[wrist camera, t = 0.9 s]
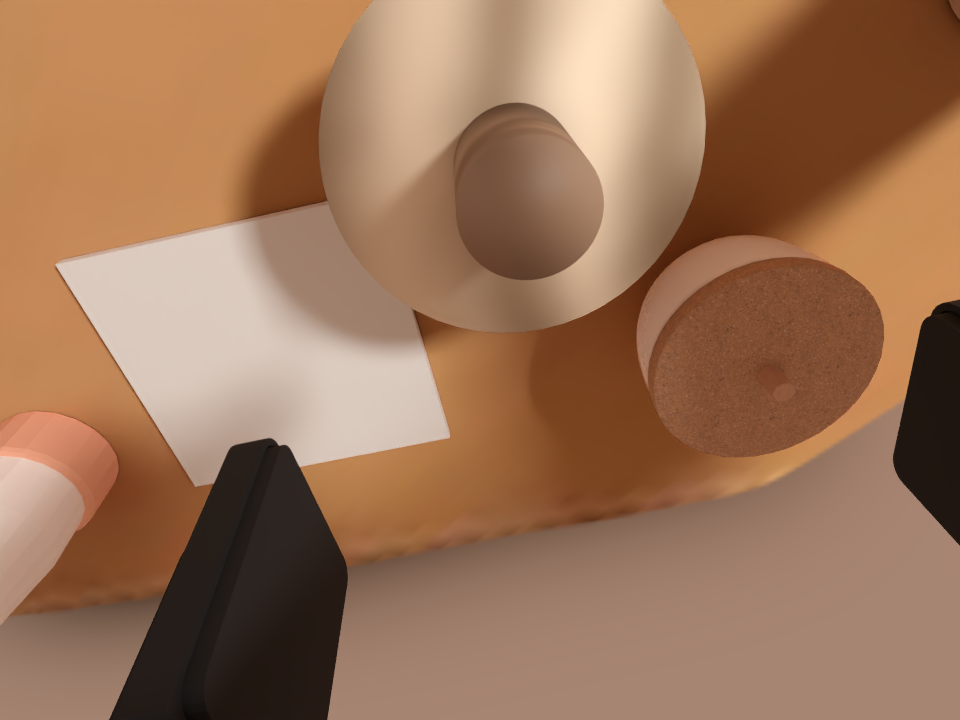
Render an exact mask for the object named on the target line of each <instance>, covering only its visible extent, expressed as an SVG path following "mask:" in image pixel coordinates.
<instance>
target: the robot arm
mask: <svg viewBox="0 0 960 720" xmlns="http://www.w3.org/2000/svg"><path fill="white" fill-rule="evenodd" d="M949 2H950V5H951V7H952V10H953V11H954V13H955V14H956V15H957V17H958V18H959V20H960V0H949ZM893 463H894V468H895V471H896V473H897V475H898V477H899V478H900V480H901V481H902V482H903V484H904V485H905V486H906V487H907V488H908V489H909V490H910V491H911V492H912V493H913V494H914V496H915V497H916V498H917V499H918V500H919V501H920V502H921V503H922V504H923V506H924V507H925V508H926V509H927V510H928V511H929V512H930V513H931V514H932V516H934V518H935V519H936V520H937V521H938V522H939V523H940V524H941V525H942V526H943V528H944V529H945V530H946V531H947V532H948V533H949V534H950V535H951V536H952V537H953V539H954V540H955V541H956V542H957V543H958V544H959V545H960V300H956V301H951V302H946V303H942V304H940V305H938V306H937V307H936V308H935V309H934V310H933V312H932V314H931V316H929V317H927V318H926V319H925V320H924V321H923V323H922V325H921V329H920V333H919V338H918V343H917V347H916V352H915V357H914V361H913V366H912V371H911V375H910V380H909V385H908V389H907V394H906V399H905V403H904V408H903V413H902V417H901V422H900V427H899V431H898V436H897V440H896V445H895V450H894V454H893ZM347 576H348V575H347V566H346V562H345V560H344V557H343V555H342V553H341V551H340V549H339V547H338V545H337V543H336V541H335V539H334V537H333V535H332V533H331V530H330V528H329V526H328V524H327V522H326V520H325V518H324V516H323V514H322V512H321V510H320V508H319V506H318V504H317V502H316V500H315V498H314V496H313V494H312V492H311V490H310V488H309V485H308V483H307V481H306V479H305V477H304V475H303V473H302V471H301V469H300V467H299V465H298V463H297V461H296V459H295V457H294V455H293V453H292V451H291V449H290V448H289V447H288V446H287V445H280V446H279V445H278V444H277V442H276V441H275V440H274V439H272V438H266V439H261V440H256V441H251V442H246V443H241V444H236V445H234V446H232V447H231V448H230V449H229V451H228V453H227V455H226V457H225V460H224V462H223V464H222V466H221V469H220V471H219V473H218V476H217V478H216V480H215V482H214V485H213V487H212V489H211V492H210V494H209V496H208V498H207V501H206V503H205V505H204V508H203V510H202V512H201V514H200V517H199V519H198V521H197V524H196V526H195V528H194V530H193V533H192V535H191V537H190V540H189V542H188V544H187V546H186V549H185V551H184V552H183V554H182V556H181V558H180V560H179V562H178V564H177V567H176V569H175V571H174V573H173V576H172V578H171V580H170V583H169V585H168V587H167V589H166V592H165V594H164V596H163V599H162V601H161V603H160V606H159V608H158V610H157V612H156V614H155V617H154V619H153V622H152V624H151V626H150V628H149V630H148V633H147V635H146V638H145V640H144V642H143V644H142V646H141V649H140V651H139V653H138V655H137V658H136V660H135V662H134V665H133V667H132V669H131V672H130V674H129V676H128V678H127V681H126V683H125V685H124V687H123V690H122V692H121V694H120V696H119V699H118V701H117V703H116V706H115V708H114V710H113V712H112V715H111V717H110V719H109V720H327V717H328V711H329V704H330V697H331V690H332V684H333V677H334V670H335V663H336V657H337V650H338V643H339V636H340V630H341V623H342V615H343V609H344V603H345V596H346V589H347V580H348V577H347Z"/></svg>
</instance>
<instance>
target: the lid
mask: <svg viewBox="0 0 960 720" xmlns="http://www.w3.org/2000/svg"><path fill="white" fill-rule="evenodd" d="M705 133H706V117H705V103H704V95H703V90H702V85H701V80H700V75H699V71H698V68H697V65H696V62H695V60H694V57H693V54H692V51H691V48H690V46H689V44H688V42H687V40H686V38H685V36H684V34H683V32H682V30H681V28H680V26H679V24H678V23H677V21H676V19H675V18H674V17H673V15H672V14H671V13H670V11H669V10H668V8H667V7H666V6H665V4H664V3H663V2H662V0H373V1H372V2H371V4H370V5H369V6H368V8H367V9H366V10H365V11H364V13H363V14H362V15H361V17H360V18H359V19H358V20H357V22H356V23H355V24H354V26H353V28H352V29H351V31H350V33H349V35H348V36H347V38H346V40H345V41H344V43H343V45H342V47H341V48H340V50H339V53H338V55H337V58H336V60H335V63H334V65H333V68H332V70H331V72H330V75H329V78H328V82H327V86H326V90H325V93H324V97H323V101H322V107H321V115H320V124H319V161H320V168H321V175H322V182H323V186H324V190H325V194H326V197H327V201H328V204H329V208H330V210H331V213H332V215H333V217H334V220H335V222H336V225H337V227H338V229H339V231H340V233H341V235H342V236H343V238H344V240H345V242H346V243H347V245H348V247H349V249H350V250H351V252H352V253H353V254H354V256H355V257H356V258H357V260H358V261H359V262H360V264H361V265H362V266H363V268H364V269H365V270H366V271H367V272H368V273H369V274H370V275H371V276H372V277H373V278H374V279H375V280H376V281H377V282H378V283H379V284H380V285H381V286H382V287H383V288H384V289H386V290H387V291H388V292H389V293H391V294H392V295H393V296H394V297H395V298H397V299H398V300H400V301H401V302H403V303H404V304H406V305H408V306H409V307H411V308H412V309H414V310H416V311H417V312H420V313H422V314H424V315H426V316H428V317H430V318H433V319H435V320H437V321H440V322H443V323H446V324H449V325H452V326H455V327H459V328H464V329H469V330H474V331H481V332H493V333H518V332H527V331H534V330H541V329H545V328H549V327H553V326H557V325H560V324H564V323H566V322H569V321H572V320H574V319H577V318H579V317H582V316H584V315H586V314H588V313H590V312H592V311H594V310H596V309H598V308H600V307H602V306H604V305H605V304H607V303H608V302H610V301H611V300H613V299H614V298H616V297H617V296H619V295H620V294H622V293H623V292H624V291H625V290H626V289H628V288H629V287H630V286H631V285H632V284H634V283H635V282H636V281H637V280H638V279H639V278H640V277H641V276H642V275H643V274H644V273H645V272H646V271H647V270H648V269H649V268H650V267H651V266H652V265H653V264H654V263H655V262H656V260H657V259H658V258H659V256H660V255H661V254H662V252H663V251H664V250H665V249H666V247H667V246H668V245H669V243H670V242H671V240H672V238H673V237H674V235H675V233H676V232H677V230H678V228H679V227H680V225H681V223H682V221H683V219H684V217H685V215H686V212H687V210H688V208H689V206H690V204H691V201H692V199H693V196H694V192H695V189H696V186H697V183H698V180H699V177H700V172H701V166H702V161H703V156H704V150H705Z"/></svg>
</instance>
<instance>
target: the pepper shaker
mask: <svg viewBox="0 0 960 720" xmlns="http://www.w3.org/2000/svg"><path fill="white" fill-rule="evenodd" d="M118 471H119V466H118V460H117V456H116V454H115V452H114V451H113V449H112V447H111V446H110V444H109V443H108V441H106V440H105V439H104V438H103V437H102V436H101V435H100V434H99V433H98V432H97V431H95V430H94V429H92V428H91V427H89V426H87V425H85V424H84V423H82V422H80V421H78V420H76V419H73V418H70V417H67V416H64V415H61V414H58V413H50V412H40V411H33V412H27V413H20V414H16V415H14V416H12V417H10V418H9V419H7V420H5V421H3V422H2V423H1V424H0V626H1V624H2V623H3V622H4V621H5V620H6V619H7V617H8V616H9V615H10V614H11V613H12V612H13V611H14V610H15V609H16V608H17V606H18V605H19V604H20V603H21V602H22V601H23V600H24V599H25V598H26V597H27V595H28V594H29V593H30V592H31V591H32V590H33V589H34V588H35V587H36V586H37V584H38V583H39V582H40V581H41V580H42V579H43V578H44V577H45V576H46V575H47V573H48V572H49V571H50V570H51V569H52V568H53V567H54V566H55V564H56V562H57V561H58V559H59V557H60V556H61V554H62V552H63V551H64V549H65V547H66V546H67V544H68V542H69V541H70V539H71V537H72V536H73V534H74V533H75V532H76V531H78V530H80V529H82V528H83V527H84V526H85V525H86V524H87V523H88V522H89V521H90V520H91V519H92V517H93V516H94V514H95V513H96V511H97V509H98V508H99V506H100V505H101V503H102V502H103V500H104V498H105V497H106V495H107V494H108V492H109V491H110V489H111V487H112V486H113V484H114V483H115V481H116V478H117V475H118Z"/></svg>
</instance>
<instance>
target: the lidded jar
mask: <svg viewBox="0 0 960 720" xmlns="http://www.w3.org/2000/svg"><path fill="white" fill-rule="evenodd" d="M636 339H637V352H638V359H639V363H640V367H641V371H642V374H643V378H644V381H645V383H646V386H647V388H648V390H649V393H650V397H651V400H652V403H653V406H654V408H655V410H656V412H657V414H658V416H659V418H660V420H661V422H662V424H663V425H664V426H665V427H666V429H667V430H668V431H669V432H670V433H671V434H672V435H673V436H674V437H675V438H677V439H678V440H679V441H680V442H682V443H684V444H686V445H687V446H689V447H691V448H693V449H696V450H698V451H701V452H704V453H707V454H712V455H717V456H723V457H751V456H759V455H764V454H769V453H773V452H776V451H780V450H783V449H787V448H789V447H791V446H794V445H796V444H798V443H801V442H803V441H805V440H807V439H809V438H811V437H812V436H814V435H816V434H818V433H820V432H821V431H823V430H824V429H825V428H827V427H828V426H830V425H831V424H832V423H834V422H835V421H836V420H837V419H839V418H840V417H841V416H842V415H843V414H845V413H846V412H847V411H848V410H849V409H850V407H851V406H852V405H853V404H854V403H855V402H856V401H857V400H858V399H859V397H860V396H861V394H862V393H863V392H864V390H865V389H866V388H867V386H868V385H869V383H870V381H871V379H872V377H873V375H874V373H875V371H876V369H877V366H878V363H879V361H880V358H881V354H882V348H883V341H884V324H883V320H882V316H881V312H880V309H879V307H878V305H877V303H876V301H875V299H874V297H873V296H872V295H871V294H870V292H869V291H868V290H867V289H866V288H865V287H864V286H863V285H862V284H861V283H860V282H858V281H857V280H856V279H854V278H853V277H852V276H850V275H849V274H848V273H846V272H845V271H843V270H841V269H839V268H837V267H835V266H833V265H831V264H829V263H828V262H827V261H825V260H824V259H822V258H821V257H819V256H818V255H816V254H814V253H812V252H810V251H808V250H806V249H803V248H801V247H799V246H797V245H795V244H793V243H790V242H786V241H783V240H779V239H775V238H771V237H768V236H758V235H738V236H728V237H723V238H719V239H715V240H712V241H709V242H706V243H703V244H701V245H699V246H697V247H695V248H693V249H691V250H689V251H687V252H686V253H684V254H683V255H681V256H680V257H679V258H677V259H676V260H674V261H673V262H672V263H671V264H670V265H669V266H668V267H667V268H666V269H665V270H664V271H663V272H662V273H661V274H660V275H659V277H658V278H657V279H656V280H655V281H654V283H653V285H652V286H651V288H650V289H649V291H648V293H647V295H646V297H645V299H644V301H643V304H642V307H641V311H640V314H639V318H638V322H637V332H636Z"/></svg>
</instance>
